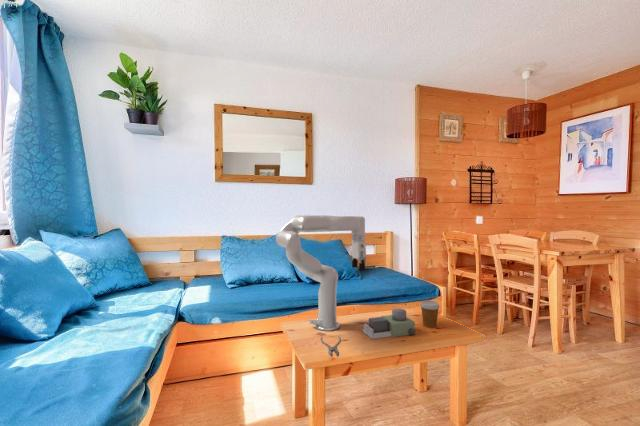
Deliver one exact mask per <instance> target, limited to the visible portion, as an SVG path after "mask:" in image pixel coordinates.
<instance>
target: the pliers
mask: <svg viewBox="0 0 640 426" xmlns="http://www.w3.org/2000/svg"><path fill="white" fill-rule="evenodd" d="M337 338H338V339H339V340H338V342H337V343H335V344H334V346H331V345H329V344H328V343H326V342H324V341H323V336H321V337H320V342H321V343H322V344H323V345H325V346H326V347H327V348H328V352H327V353H328V355H329V356H330V357H332V354H333V352H334V354H335V355H336V356H337V357H339V350H338V345H340V343H341V342H342V340H341V336H338V337H337Z"/></svg>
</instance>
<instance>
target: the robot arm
mask: <svg viewBox="0 0 640 426" xmlns="http://www.w3.org/2000/svg"><path fill="white" fill-rule="evenodd" d="M288 221H289V222H287V223H286V224H285V225H284V226H283V227H282V228H281V229H280V230H279V231H278V233H277V234H276V238H275V242H276V244H277V245H278V246H279V247H281V248H284V249H285V255H286V258H287V260H288V262H290V264H291V265H293V266H295V267H296V269H297V271H298V272H300V273H302V275H305V277H308V278H309V279H312V280H313V281H315V282H318V283H320V285H319V287H318V295H317V296H318V297H317V298H318V302H317V303H318V308H317V309H318V316H316V318H314V319H309V324H310V325H312V326H315V328H316V329H318V330H319V331H325V332H326V331H328V332H330V331H336V330H338V329H339V328H340V323H339V322H338V321H337V288H338V280H339V273H338V271H337V270H336V268H334V267H332V266H329V265H325V264H322V263H321V262H320V260H319V259H318V258H316V257H314V256H313V255H311V254H310V253H307V252H306V251H305V250H304V249H303V248H302V243H301V237H300V236H299V234H300V233H301V232H302V233H317V232H318V233H323V232H324V233H325V232H328V233H330V232H346V231H347V232H351V267H352V268H358V271H360V272H361V271H362V272H363V271H365V270H366V260H367V259H366V258H367V250H366V249H367V248H366V219H365V217H364V216H360V215H359V216H353V215H347V216H346V215H345V216H344V215H343V216H342V215H340V216H339V215H337V216H335V215H325V214H322V215H317V214H316V215H295V216H293V218H291V219H290V220H288ZM358 261H359V263H358Z"/></svg>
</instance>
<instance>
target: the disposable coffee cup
mask: <svg viewBox="0 0 640 426" xmlns="http://www.w3.org/2000/svg"><path fill="white" fill-rule="evenodd" d="M420 308H421V317H422V323H423V327H426V328H429V329H434V328H436V327H437V322H438V315H439V308H440V305H439V303H438V302H437V301H433V300H422V301H421V302H420Z"/></svg>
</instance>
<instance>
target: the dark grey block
mask: <svg viewBox="0 0 640 426" xmlns="http://www.w3.org/2000/svg"><path fill="white" fill-rule="evenodd" d="M368 325H369V326H370V327H371V328H372V329H373V333H380V332H387V331H388V320H387V319H386V318H384V317H381V316H378V317H377V316H376V317H369V318H368Z"/></svg>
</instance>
